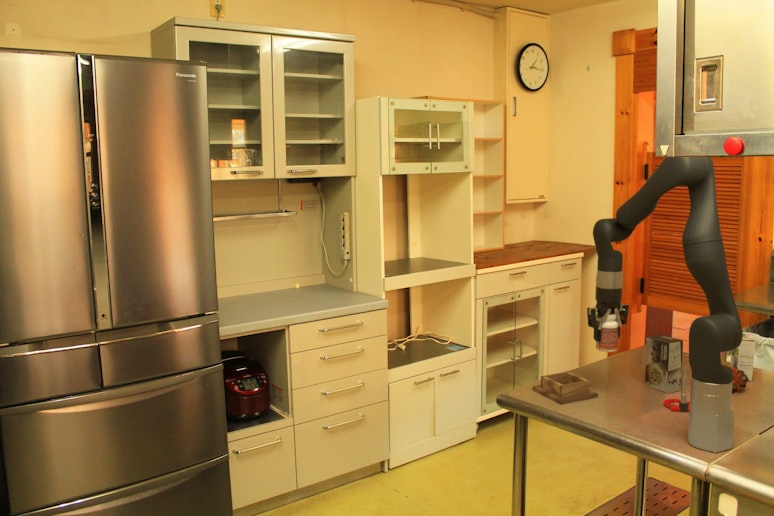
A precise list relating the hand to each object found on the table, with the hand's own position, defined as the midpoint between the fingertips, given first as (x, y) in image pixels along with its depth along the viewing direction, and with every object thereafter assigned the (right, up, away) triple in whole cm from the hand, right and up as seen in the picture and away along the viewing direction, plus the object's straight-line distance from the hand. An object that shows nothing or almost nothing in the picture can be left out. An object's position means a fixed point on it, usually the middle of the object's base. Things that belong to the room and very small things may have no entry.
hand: (606, 339), depth 197 cm
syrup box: (+50, -15, +18) cm, 55 cm away
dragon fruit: (+40, -17, +7) cm, 44 cm away
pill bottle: (0, -3, +1) cm, 3 cm away
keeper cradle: (-11, -18, +6) cm, 22 cm away
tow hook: (+19, -19, -6) cm, 28 cm away
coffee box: (+21, -17, +10) cm, 29 cm away
